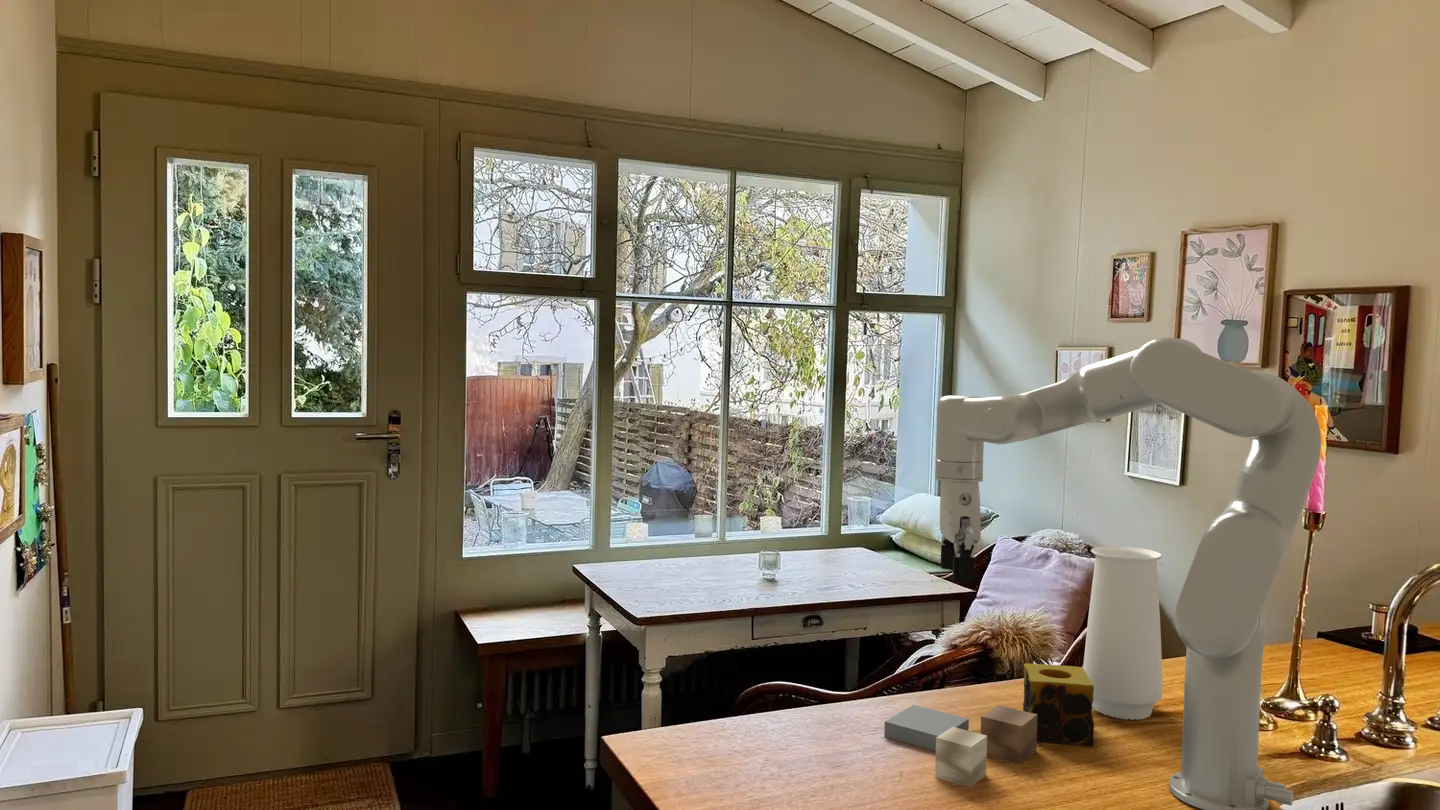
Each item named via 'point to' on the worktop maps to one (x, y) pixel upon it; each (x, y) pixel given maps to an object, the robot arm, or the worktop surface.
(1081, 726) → the yellow holed cube
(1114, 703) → the vase
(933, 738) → the slate slab
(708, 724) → the worktop surface
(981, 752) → the maple block
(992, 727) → the walnut block
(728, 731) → the worktop surface
